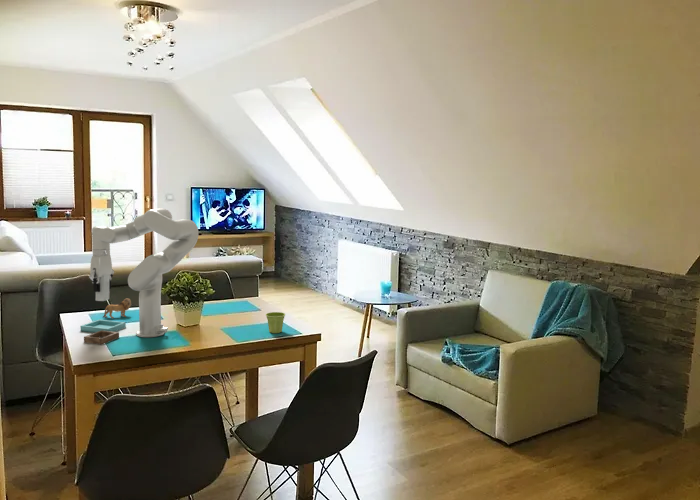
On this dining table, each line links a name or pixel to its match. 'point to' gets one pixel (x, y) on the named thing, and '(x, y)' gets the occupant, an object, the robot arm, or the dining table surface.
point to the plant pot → (275, 321)
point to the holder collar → (105, 334)
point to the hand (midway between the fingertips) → (102, 289)
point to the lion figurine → (118, 308)
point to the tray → (103, 326)
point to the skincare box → (103, 289)
